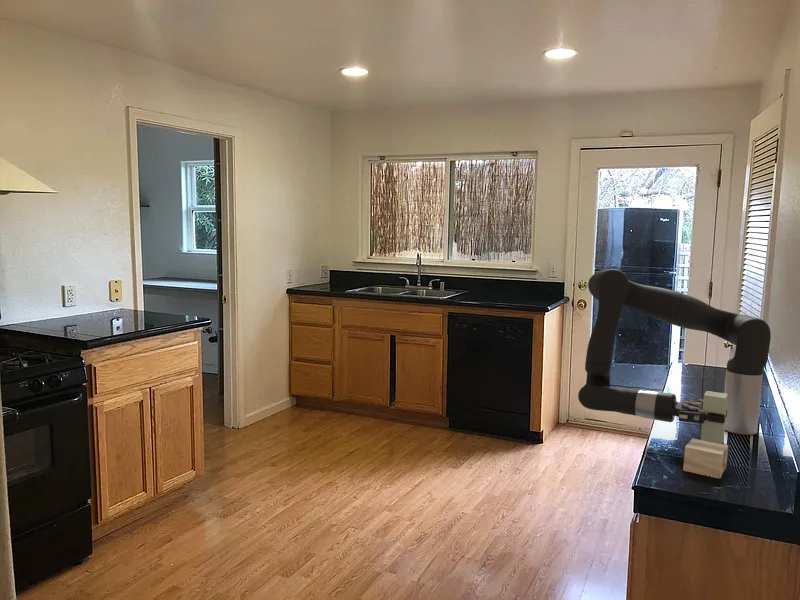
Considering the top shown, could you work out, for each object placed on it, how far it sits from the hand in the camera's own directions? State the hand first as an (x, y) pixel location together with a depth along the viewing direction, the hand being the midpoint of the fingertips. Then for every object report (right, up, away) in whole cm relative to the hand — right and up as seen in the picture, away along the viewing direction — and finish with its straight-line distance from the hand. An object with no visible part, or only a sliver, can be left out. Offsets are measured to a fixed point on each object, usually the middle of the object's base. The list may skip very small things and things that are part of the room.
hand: (725, 416), depth 166 cm
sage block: (-2, -6, +2) cm, 7 cm away
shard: (+21, -6, +47) cm, 52 cm away
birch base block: (-10, -11, -10) cm, 18 cm away
